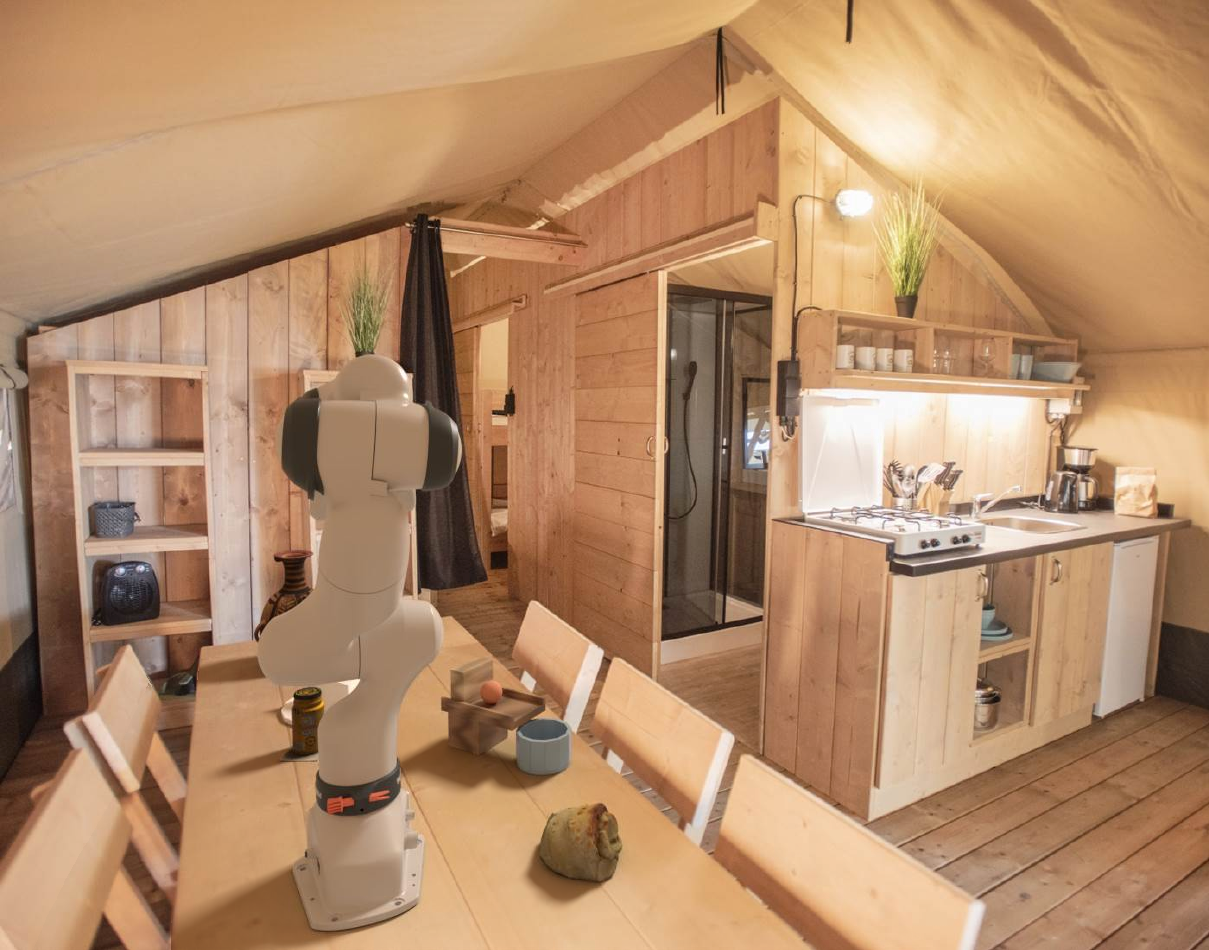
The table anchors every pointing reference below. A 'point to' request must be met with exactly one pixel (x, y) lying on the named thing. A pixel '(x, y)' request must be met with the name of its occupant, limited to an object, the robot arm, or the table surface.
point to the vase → (286, 587)
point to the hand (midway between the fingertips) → (365, 538)
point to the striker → (470, 679)
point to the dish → (324, 696)
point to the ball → (491, 692)
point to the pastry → (582, 842)
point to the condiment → (305, 724)
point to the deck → (489, 719)
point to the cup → (543, 746)
